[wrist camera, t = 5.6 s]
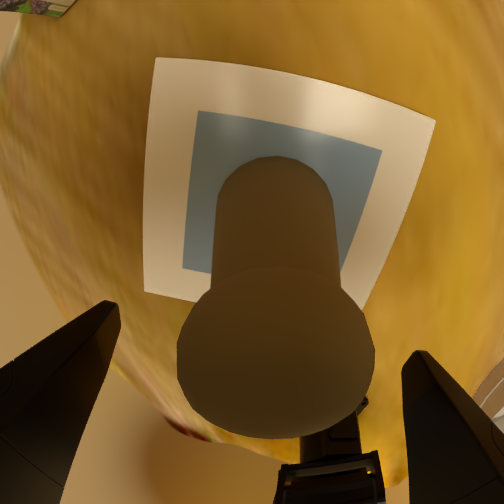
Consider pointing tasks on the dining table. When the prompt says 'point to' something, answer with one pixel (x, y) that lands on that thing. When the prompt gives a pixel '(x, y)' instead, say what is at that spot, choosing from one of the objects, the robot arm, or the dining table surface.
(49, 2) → the syrup box
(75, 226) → the dining table surface
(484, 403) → the dish
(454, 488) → the robot arm
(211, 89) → the plate
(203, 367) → the cork
